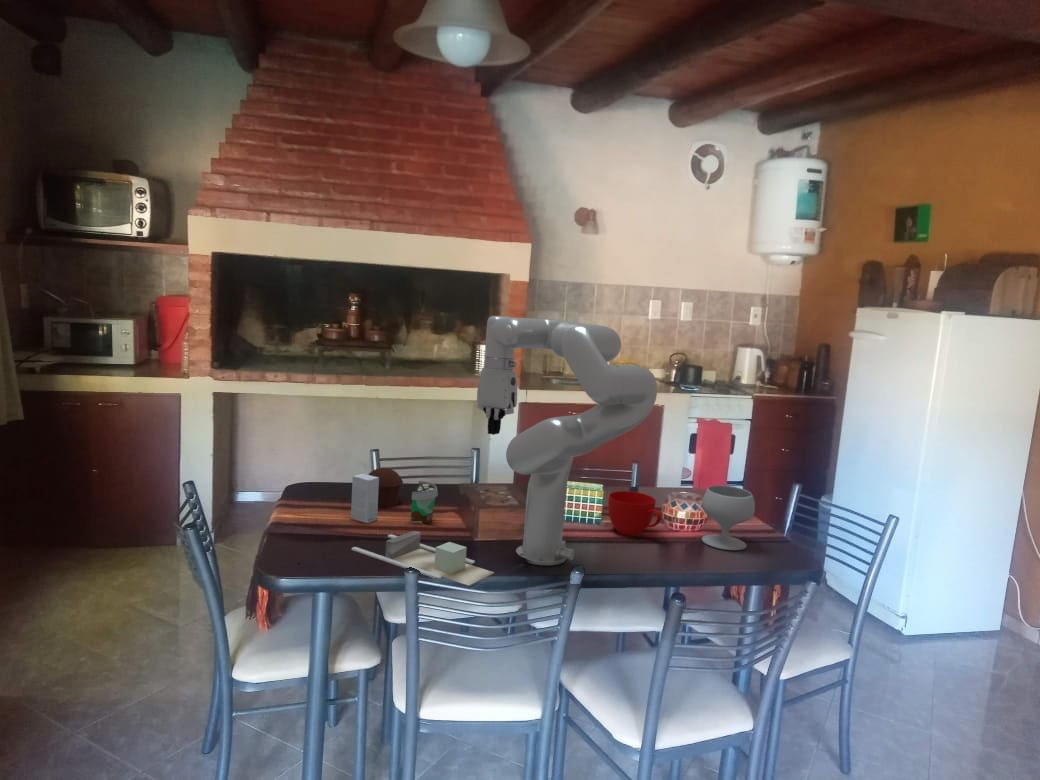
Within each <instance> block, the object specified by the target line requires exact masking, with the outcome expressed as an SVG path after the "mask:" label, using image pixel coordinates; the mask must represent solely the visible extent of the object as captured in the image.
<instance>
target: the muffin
mask: <svg viewBox="0 0 1040 780" xmlns="http://www.w3.org/2000/svg"><path fill="white" fill-rule="evenodd" d="M367 475H370V476H374V477H379V489H378V508H391V507H395V505H396V506H397V504H398V503H399V499H400V494H401V491H402V486H403V484H404V481H403V479H402V477H401V475H399V473H398V472H397V471H395V470H394V469H392V468H388V467H379V468H375V469H373V470H372V471H370V472H369V473H368V474H367Z"/></svg>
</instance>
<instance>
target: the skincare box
mask: <svg viewBox="0 0 1040 780" xmlns="http://www.w3.org/2000/svg"><path fill="white" fill-rule="evenodd" d="M351 482H352V485H351V487H352V488H351V503H350V504H351V505H350V520H354V521H357V522H361V523H364V524H369V523H372V522H375V521H377V520H378V511H379V510H378V509H379V507H378V489H379V477H374V476H370V475H368V474H366V473H361V474H356V475H353V476H352V481H351Z"/></svg>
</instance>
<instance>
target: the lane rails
mask: <svg viewBox="0 0 1040 780" xmlns="http://www.w3.org/2000/svg"><path fill="white" fill-rule="evenodd" d="M395 537H398V535H394V534H388V535H387V538H389V539H392V538H395ZM420 549H423V550H426V551H429V552H432V553H435V550H436V547H433V546H430V545H426V544H424V543H420ZM351 551H354V552H357V553H359V554H363V555H366V556H368V557H370V558H374V559H377V560H380V561H383V562H386V563H389V564H392V565H394V566H397V567H400V568H403V569H406V568H409V567H412V568H415V569H417V570H419V571H420V573H421V575H424V576H427V577H429V578H432V579H435V578H438V579H437V580H440V579H442V578H443V577H442V576H440V575H437V574H434V573H431V572H428V571H425V570H422V569H419V568H416V567H413V566H410V565H407V564H404V563H402V562H399V561H396V560H393V559H390V558H387V557H385V556H384V555H381V554H377V553H375V552H372V551H369V550H366V549H362V548H360V547H356V546H353V547H351ZM475 563H476V561H475V560H473V559H470V558H469V557H468V558H467V557H466V564H469V565H473V564H475ZM420 573H419V574H420Z"/></svg>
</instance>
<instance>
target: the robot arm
mask: <svg viewBox="0 0 1040 780" xmlns="http://www.w3.org/2000/svg"><path fill="white" fill-rule="evenodd" d="M485 333H486V335H485V346H484V347H485V349H484V363H483V367H482V368H481V371H480V373H479V374H480V375H479V378H478V384H477V391H476V393H477V395H476V402H477V408H478V409H479V410H481V411H483V413H484V414H485V416H486V418H487V434H488V435H492V436H493V435H494V436H495V435H498V434H500V431H501V427H502V425H501V424H502V420H503V419H504V417H505V416H506V415H512V414H514V413H515V410H514V408H516V407H517V404H518V379H517V372H516V370H514V368H517V366H518V362H516V361H515V349H545V350H546V349H547V350H551V351H552V352H553V353H554V354H555V355H556V356H558V357H561V358H564V359H565V361H566V363H567V365H568V366H569V368H570V370H571V371H572V373H573V375H574V376H575V378H576V380H577V381H578V382H579V384H580V386H581V387H582V389H583V391H584V392H585V393H586V395H587V396H588V397H589V398H590V399H591V401H593V402H594V403H596V405H595V406H593V407H592V408H589V409H587V410H586V411H584V412H582V413H579V414H574V415H573V414H572V415H562V416H556V417H555V416H554V417H550V418H546V419H544V420H541V421H540V422H538V423H536V424H535V425H532V426H530V427H529V428H527V429H525V430H524V431H522V432H520V433H519V434H516V435H515V436H514V437H513V438H511V440H510V442H509V443H508V445H507V448H506V451H505V458H506V462H507V465H508V466H509V468H510V469H511V470H512V471H513V472H515V473H517V474H518V475H523V476H524V475H526V476H527V475H528V476H529V475H530V477H529V481H528V484H527V491H526V501H525V516H524V517H525V518H524V525H523V526H524V527H523V538H522V544H521V545H519V546H518V547H517V548H516V550H515V552H516V554H517V555H518V556H519V557H522V558H525V559H526V560H524V563H526V564H531V565H535V566H547V567H548V566H558V565H560V564H564V563H565V561H566V560H568V561H573V560H574V559H575V550H574V549H572V548H567V546H566V540H563V533H564V532H563V531H564V520H565V510H566V509H565V508H566V500H567V499H566V498H567V489H568V482H569V480H568V479H569V477H570V476H569V475H570V471H571V468H572V464H573V460H574V457H575V458H576V457H579V456H584V455H586V454H588V453H590V452H592V451H594V450H596V449H597V448H599V447H601V446H603V445H605V444H607V443H609V442H610V441H612V440H615V439H616V438H617V437H620V436H621V435H624V434H626V433H628V432H629V431H631V430H632V429H634V428H636V427H637V426H638V425H640V424H641V423H642V422H644V421H645V419H646V418H647V417H648V416H649V415H650V414H651V412H652V410H653V408H654V405H655V404H656V403H655V402H656V400H657V396H658V382H657V379H656V376H655V375H654V374H653V372H652V371H651V370H649V369H647V368H646V367H644V366H640V365H636V364H617V365H616V364H615V365H614V364H611V365H610V364H609V363H608V362H611V361H613V360H614V359H615V358H617V357H618V355H619V354H620V352H621V348H622V340H621V337H620V335H619V334H618V332H617V331H615V330H614V329H613V328H611V327H609V326H606V325H600V324H599V325H598V324H592V323H582V322H575V321H568V320H567V321H566V320H563V321H562V320H561V321H560V320H555V319H553V320H552V319H547V318H533V317H513V316H512V317H511V316H506V315H505V316H503V315H491V316H489V317H488V319H487V323H486V332H485Z"/></svg>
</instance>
